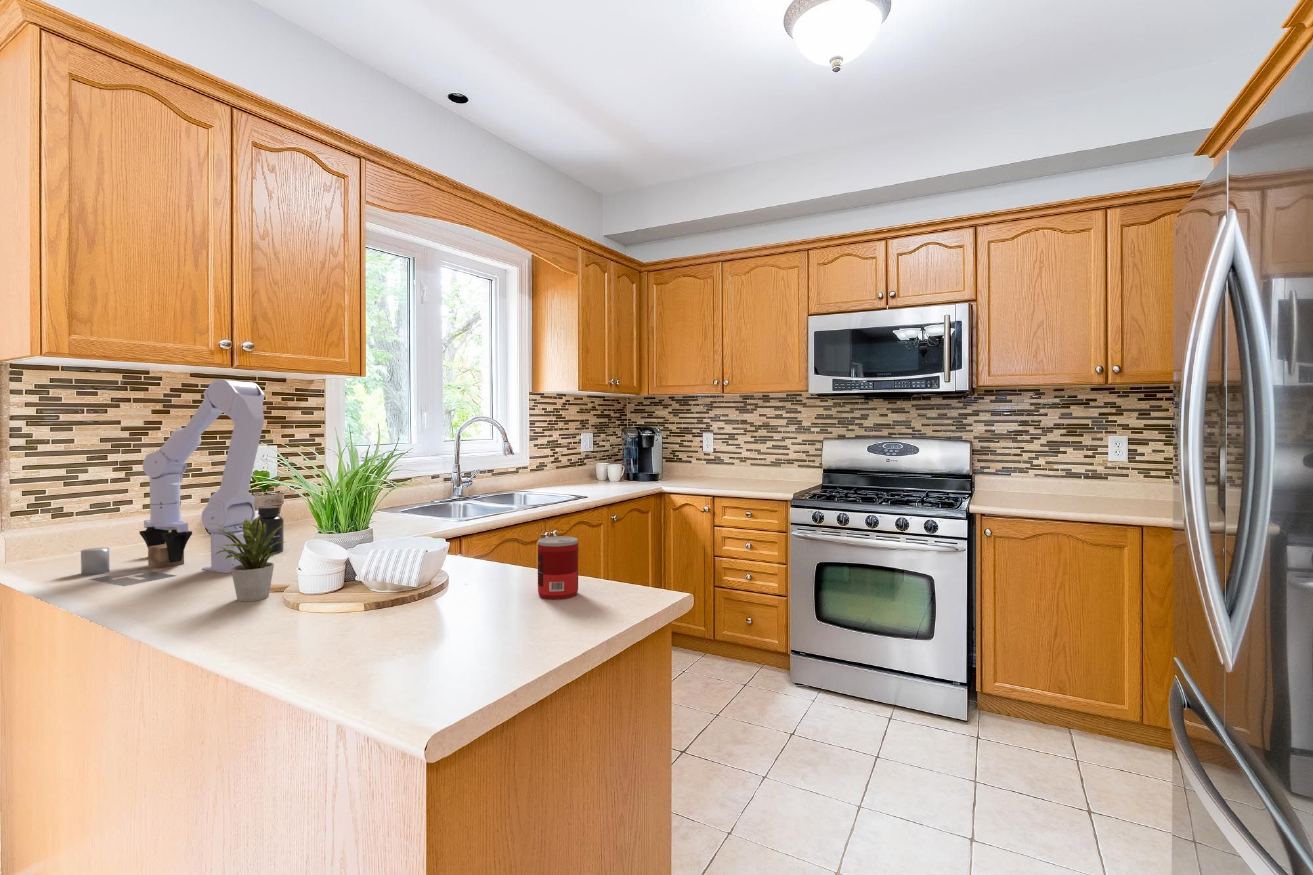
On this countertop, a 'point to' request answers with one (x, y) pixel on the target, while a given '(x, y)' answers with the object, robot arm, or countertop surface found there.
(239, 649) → the countertop surface
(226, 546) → the robot arm
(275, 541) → the supplement bottle
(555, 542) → the canned food
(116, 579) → the letter card
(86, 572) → the grey jar
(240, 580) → the house plant
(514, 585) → the countertop surface
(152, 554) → the walnut cube
